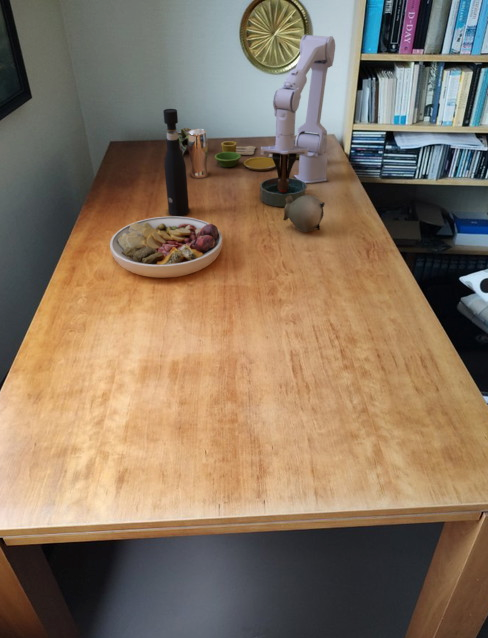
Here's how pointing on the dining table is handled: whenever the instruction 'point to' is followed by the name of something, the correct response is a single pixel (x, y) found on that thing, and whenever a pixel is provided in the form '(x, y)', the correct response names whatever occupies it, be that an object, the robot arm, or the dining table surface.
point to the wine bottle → (175, 168)
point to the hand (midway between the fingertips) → (283, 177)
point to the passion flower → (183, 139)
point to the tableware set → (233, 154)
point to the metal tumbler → (198, 152)
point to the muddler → (283, 173)
